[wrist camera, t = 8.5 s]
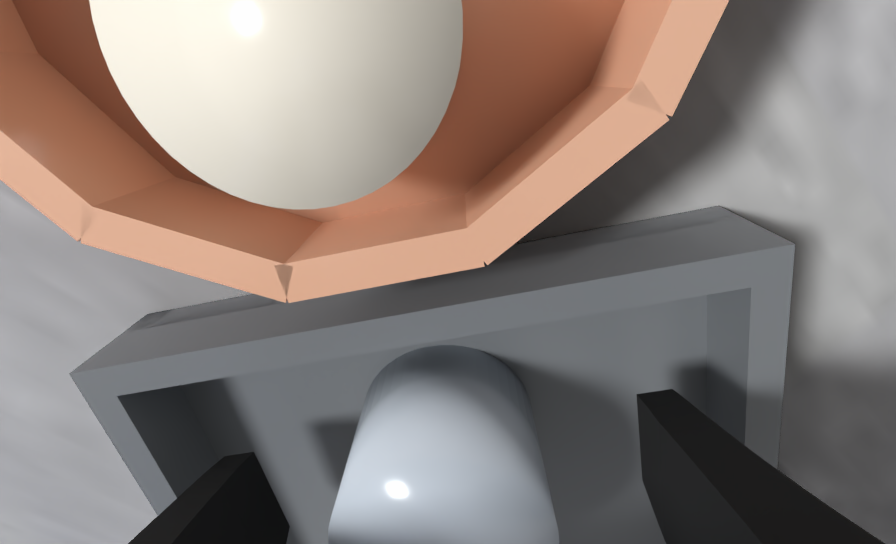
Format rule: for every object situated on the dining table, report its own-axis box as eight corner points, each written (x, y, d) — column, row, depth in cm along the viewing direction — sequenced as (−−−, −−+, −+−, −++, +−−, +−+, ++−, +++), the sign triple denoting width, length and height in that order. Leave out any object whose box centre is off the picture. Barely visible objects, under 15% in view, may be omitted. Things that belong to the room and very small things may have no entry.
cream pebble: (278, 182, 8) (186, 238, 5) (192, -58, 7) (9, -150, 4) (481, 137, 8) (493, 172, 5) (432, -126, 6) (411, -279, 4)
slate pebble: (388, 488, 11) (363, 628, 8) (343, 360, 10) (296, 476, 7) (541, 466, 11) (571, 606, 8) (517, 330, 9) (543, 441, 6)
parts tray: (309, 626, 14) (283, 717, 12) (147, 314, 10) (69, 374, 8) (714, 581, 13) (761, 673, 11) (718, 205, 9) (794, 244, 7)
